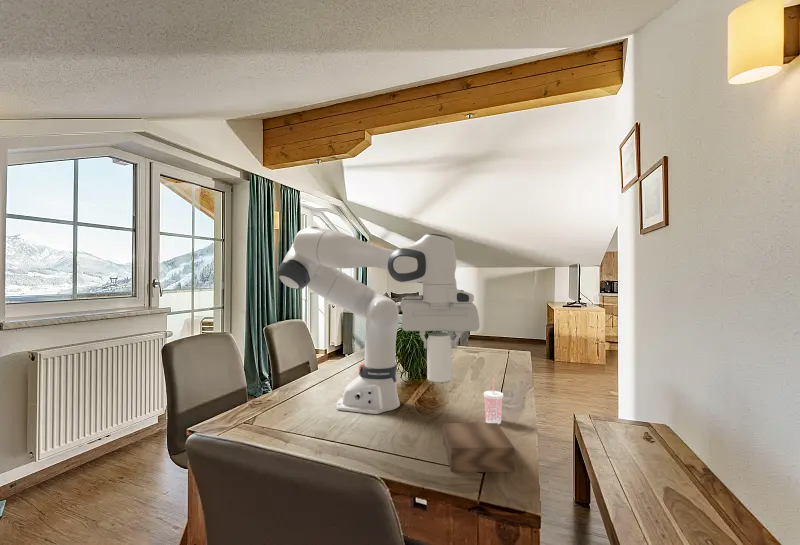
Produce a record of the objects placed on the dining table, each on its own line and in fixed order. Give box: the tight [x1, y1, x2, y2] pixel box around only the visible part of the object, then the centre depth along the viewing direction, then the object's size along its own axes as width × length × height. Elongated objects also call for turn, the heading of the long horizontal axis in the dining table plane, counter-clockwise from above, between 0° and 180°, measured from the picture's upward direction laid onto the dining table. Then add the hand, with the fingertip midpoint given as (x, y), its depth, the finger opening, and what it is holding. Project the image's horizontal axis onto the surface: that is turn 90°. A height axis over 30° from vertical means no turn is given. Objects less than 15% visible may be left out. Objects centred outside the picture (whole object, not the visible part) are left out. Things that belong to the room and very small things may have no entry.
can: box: [426, 331, 453, 384], centre depth 100 cm, size 6×6×12 cm
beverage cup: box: [483, 377, 504, 425], centre depth 121 cm, size 6×6×14 cm
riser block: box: [442, 422, 515, 473], centre depth 98 cm, size 15×15×6 cm
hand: (440, 348), depth 100 cm, fingers closed on can, 6 cm apart
